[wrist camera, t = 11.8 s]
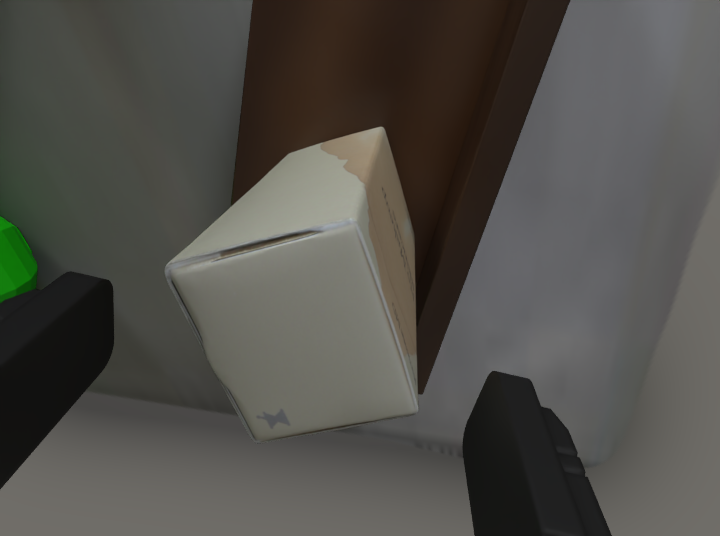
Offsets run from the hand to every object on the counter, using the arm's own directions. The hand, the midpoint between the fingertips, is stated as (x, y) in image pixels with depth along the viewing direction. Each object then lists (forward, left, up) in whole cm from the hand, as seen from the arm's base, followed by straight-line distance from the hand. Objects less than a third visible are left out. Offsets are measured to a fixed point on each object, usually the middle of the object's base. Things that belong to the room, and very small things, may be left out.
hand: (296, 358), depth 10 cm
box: (0, 0, -11) cm, 11 cm away
